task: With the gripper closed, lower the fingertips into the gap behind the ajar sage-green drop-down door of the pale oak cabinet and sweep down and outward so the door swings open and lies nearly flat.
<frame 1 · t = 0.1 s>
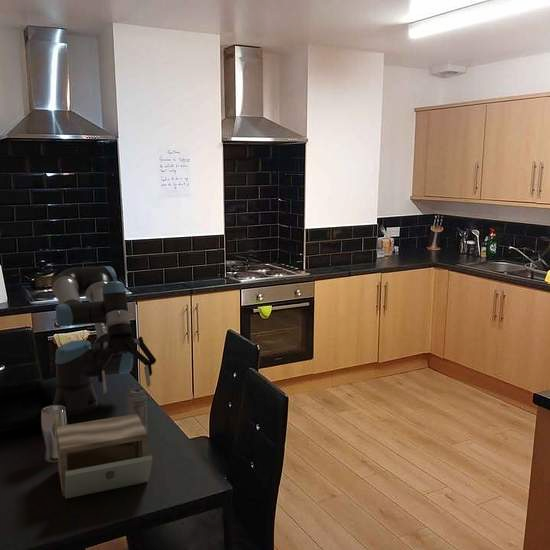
hand: (127, 388, 182), 15 cm above the table, tool tilted 35°, fingers open, 13 cm apart
door: (109, 478, 147), point 6 cm above the table, hinge at 35.0°
cabinet: (103, 477, 159), on the table
beer glass: (56, 458, 170), on the table
energy drink can: (137, 435, 185), on the table
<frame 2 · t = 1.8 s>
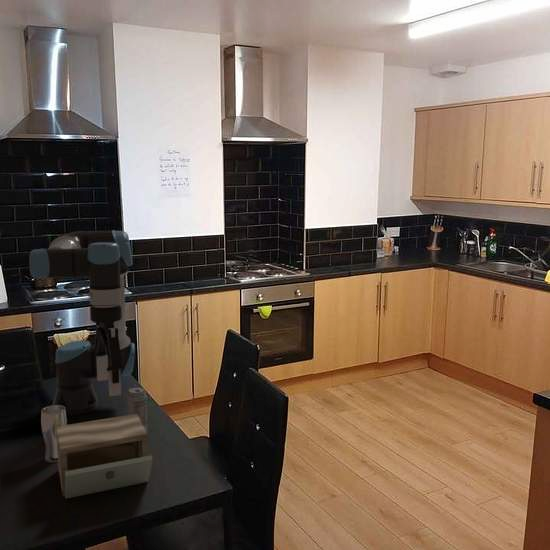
hand: (108, 387, 147), 29 cm above the table, tool pointing down, fingers open, 13 cm apart
nothing on the table moved.
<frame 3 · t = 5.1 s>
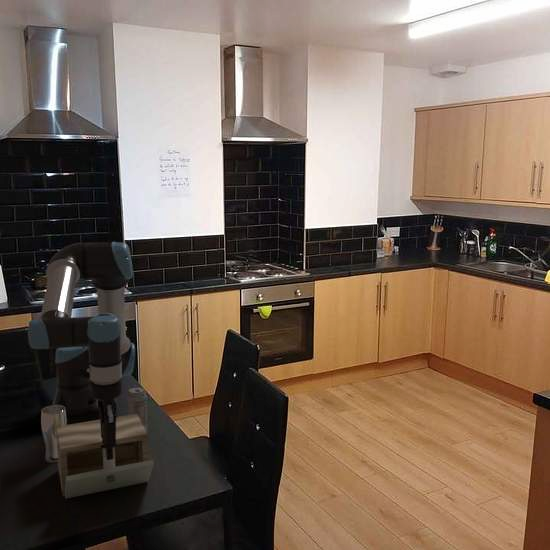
hand: (109, 469, 145), 9 cm above the table, tool pointing down, fingers closed
door: (109, 481, 147), point 6 cm above the table, hinge at 41.3°, touching gripper
everything else where it was.
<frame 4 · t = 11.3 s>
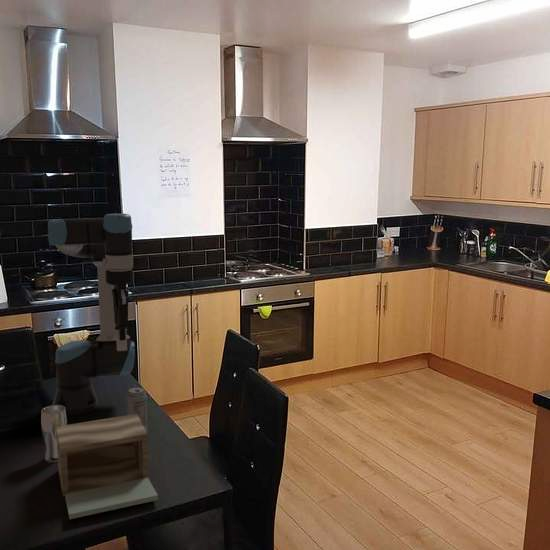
hand: (122, 349, 166), 32 cm above the table, tool pointing down, fingers closed
door: (111, 498, 146), point 2 cm above the table, hinge at 83.3°
everything else where it was.
at the end: door at +83° (first picture: +35°); beer glass moved 0.2 cm from its start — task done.
